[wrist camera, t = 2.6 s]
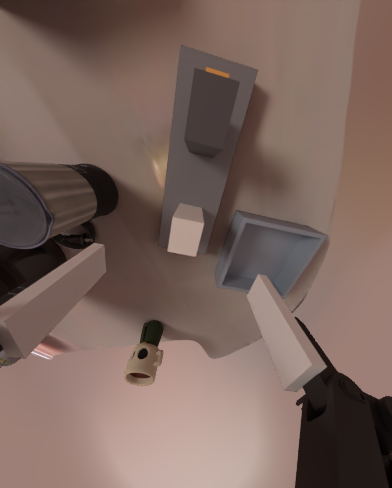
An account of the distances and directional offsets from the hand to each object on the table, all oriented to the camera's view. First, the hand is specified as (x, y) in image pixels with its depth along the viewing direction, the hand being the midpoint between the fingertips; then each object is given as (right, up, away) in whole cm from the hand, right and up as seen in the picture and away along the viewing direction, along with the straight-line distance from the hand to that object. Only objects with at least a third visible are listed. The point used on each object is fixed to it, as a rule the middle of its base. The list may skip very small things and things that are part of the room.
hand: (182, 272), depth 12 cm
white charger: (0, +8, +16) cm, 18 cm away
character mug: (-12, -23, +33) cm, 42 cm away
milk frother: (-20, +10, +17) cm, 28 cm away
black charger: (+3, +20, +11) cm, 22 cm away
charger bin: (+15, +1, +20) cm, 26 cm away
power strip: (+1, +14, +14) cm, 20 cm away
